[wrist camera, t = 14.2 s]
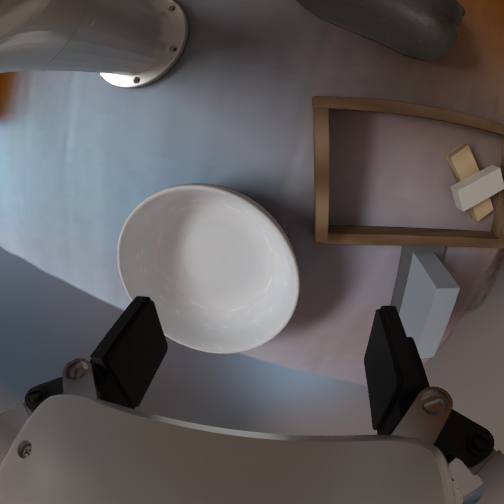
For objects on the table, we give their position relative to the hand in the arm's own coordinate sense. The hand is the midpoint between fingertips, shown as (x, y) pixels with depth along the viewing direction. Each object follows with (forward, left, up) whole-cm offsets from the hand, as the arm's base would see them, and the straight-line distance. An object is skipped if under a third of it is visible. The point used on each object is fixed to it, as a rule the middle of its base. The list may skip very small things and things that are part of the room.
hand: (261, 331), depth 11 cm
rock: (-23, +10, -23) cm, 34 cm away
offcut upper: (-2, +22, -21) cm, 30 cm away
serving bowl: (+8, -9, -23) cm, 26 cm away
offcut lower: (-2, +22, -23) cm, 32 cm away
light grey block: (+12, +17, -22) cm, 30 cm away
